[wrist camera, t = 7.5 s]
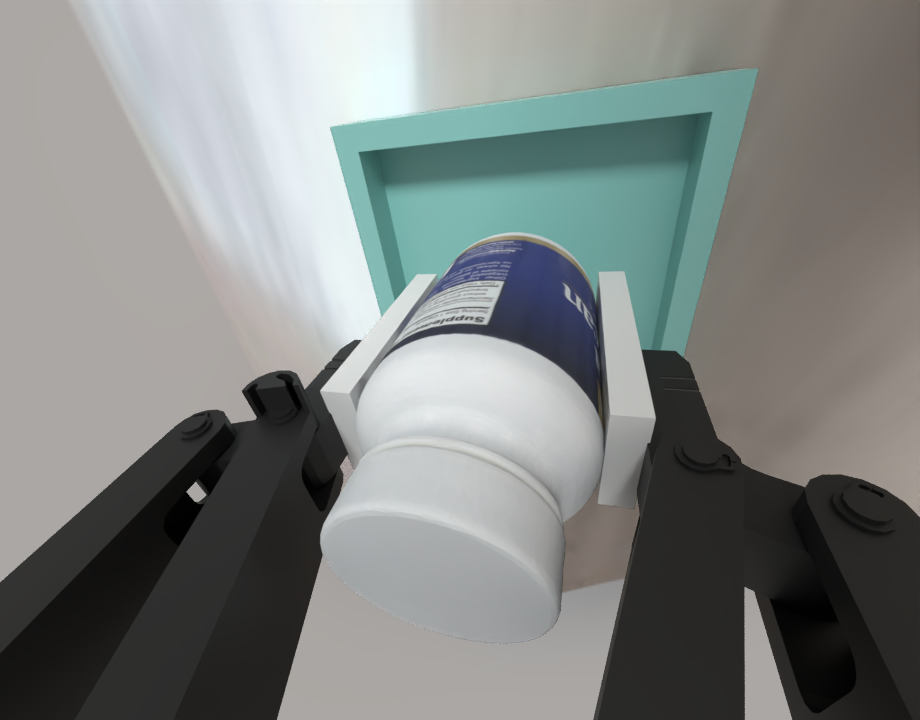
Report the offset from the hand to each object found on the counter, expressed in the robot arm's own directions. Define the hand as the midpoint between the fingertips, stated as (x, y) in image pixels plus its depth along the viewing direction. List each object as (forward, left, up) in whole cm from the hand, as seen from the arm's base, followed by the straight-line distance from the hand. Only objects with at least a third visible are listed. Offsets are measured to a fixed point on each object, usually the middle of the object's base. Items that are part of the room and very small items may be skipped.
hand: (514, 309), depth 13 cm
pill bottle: (0, 0, -1) cm, 1 cm away
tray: (0, 0, -3) cm, 3 cm away
